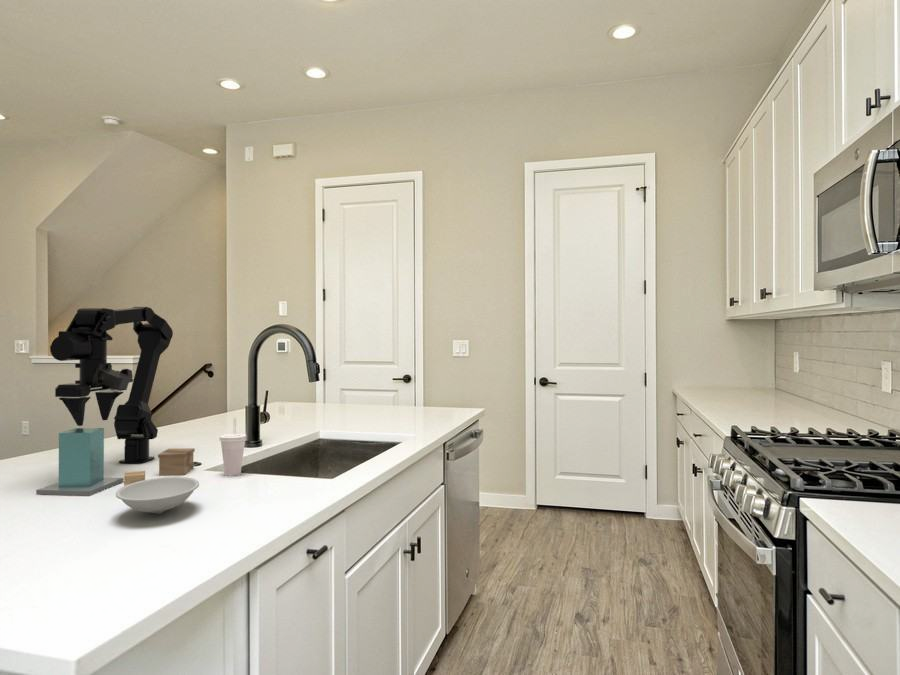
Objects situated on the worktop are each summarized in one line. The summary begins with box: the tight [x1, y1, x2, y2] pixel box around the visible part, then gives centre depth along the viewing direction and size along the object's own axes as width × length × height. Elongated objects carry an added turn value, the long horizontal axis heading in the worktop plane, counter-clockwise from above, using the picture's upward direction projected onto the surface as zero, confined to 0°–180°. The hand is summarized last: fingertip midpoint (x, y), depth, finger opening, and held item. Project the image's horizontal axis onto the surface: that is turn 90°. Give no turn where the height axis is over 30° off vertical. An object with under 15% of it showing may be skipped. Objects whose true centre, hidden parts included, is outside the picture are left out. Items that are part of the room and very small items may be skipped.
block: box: [123, 470, 146, 487], centre depth 132 cm, size 4×4×4 cm
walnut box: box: [157, 447, 195, 476], centre depth 150 cm, size 7×6×5 cm
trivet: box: [35, 476, 124, 497], centre depth 134 cm, size 12×12×1 cm
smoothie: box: [219, 417, 247, 476], centre depth 148 cm, size 6×6×14 cm
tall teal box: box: [58, 427, 105, 488], centre depth 134 cm, size 6×6×12 cm
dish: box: [115, 476, 200, 515], centre depth 116 cm, size 18×14×5 cm
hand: (92, 422), depth 145 cm, fingers open, 9 cm apart
